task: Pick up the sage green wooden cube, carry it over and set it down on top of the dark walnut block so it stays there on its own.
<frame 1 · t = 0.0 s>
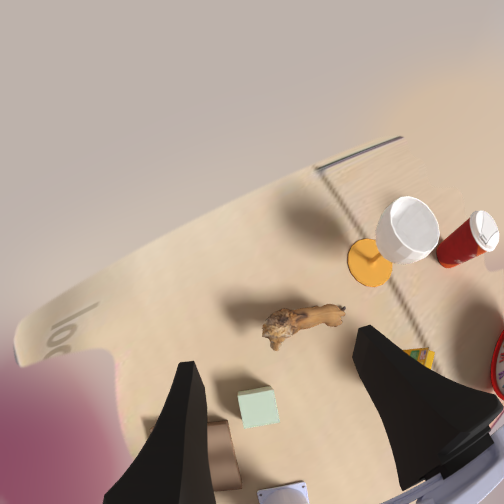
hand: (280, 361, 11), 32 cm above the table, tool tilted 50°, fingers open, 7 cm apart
tan animal figurine: (301, 325, 44), on the table
toy clock: (498, 360, 40), on the table
cup: (370, 262, 48), on the table
sage cube: (257, 403, 39), on the table
paper cup: (445, 255, 49), on the table
walnut block: (198, 455, 36), on the table
crayon box: (390, 372, 41), on the table
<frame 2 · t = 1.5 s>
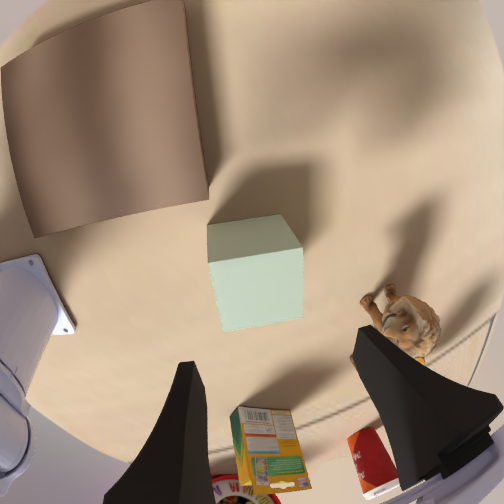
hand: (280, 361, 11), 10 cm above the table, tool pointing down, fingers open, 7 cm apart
tan animal figurine: (368, 316, 26), on the table
toy clock: (228, 477, 45), on the table
sage cube: (247, 251, 20), on the table
paper cup: (360, 433, 43), on the table
walnut block: (103, 116, 15), on the table
crayon box: (259, 412, 31), on the table
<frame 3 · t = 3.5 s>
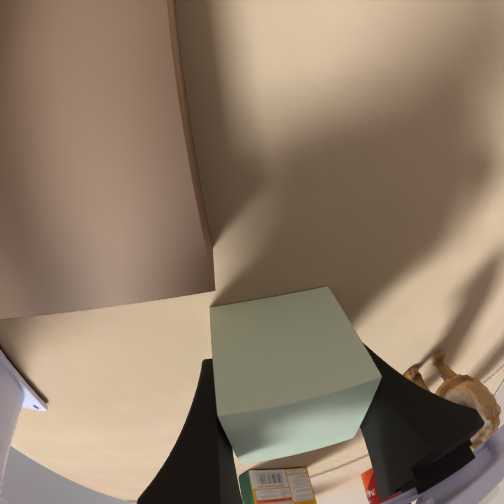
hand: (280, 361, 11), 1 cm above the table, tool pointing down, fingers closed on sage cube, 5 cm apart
tan animal figurine: (407, 383, 19), on the table
sage cube: (273, 338, 13), on the table, touching gripper
paper cup: (375, 468, 35), on the table
walnut block: (31, 128, 7), on the table
crayon box: (272, 470, 24), on the table
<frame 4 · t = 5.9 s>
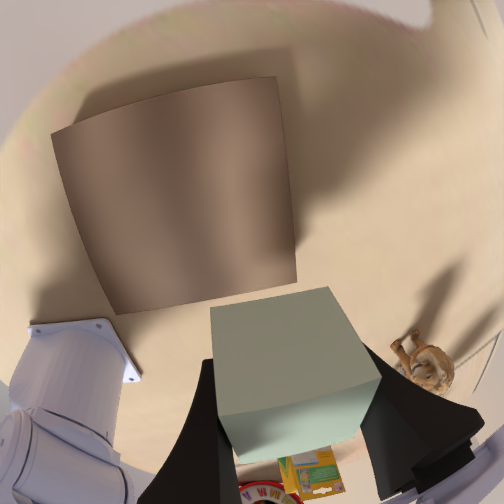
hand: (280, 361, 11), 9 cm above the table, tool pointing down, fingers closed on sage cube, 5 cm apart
tan animal figurine: (395, 354, 29), on the table
toy clock: (255, 483, 48), on the table
sage cube: (273, 338, 13), point 7 cm above the table, touching gripper
walnut block: (181, 194, 17), on the table
crayon box: (297, 428, 34), on the table
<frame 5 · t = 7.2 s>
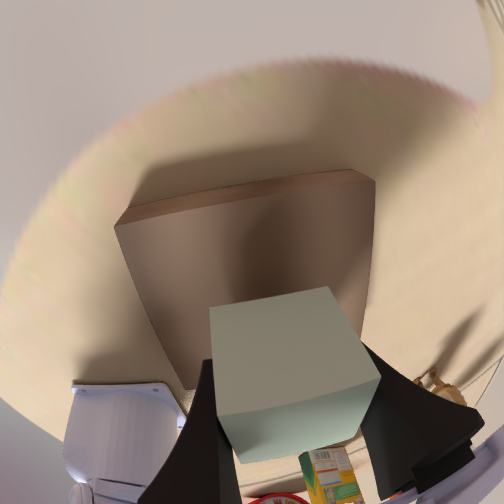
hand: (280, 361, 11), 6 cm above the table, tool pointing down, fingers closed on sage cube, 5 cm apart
tan animal figurine: (413, 387, 29), on the table
toy clock: (271, 494, 48), on the table
sage cube: (273, 338, 13), point 5 cm above the table, touching gripper
walnut block: (255, 278, 17), on the table
crayon box: (321, 450, 34), on the table
when the fingers open (6 cm above the table, at t = 8.5 s): sage cube drops 2 cm, point 2 cm above the table.
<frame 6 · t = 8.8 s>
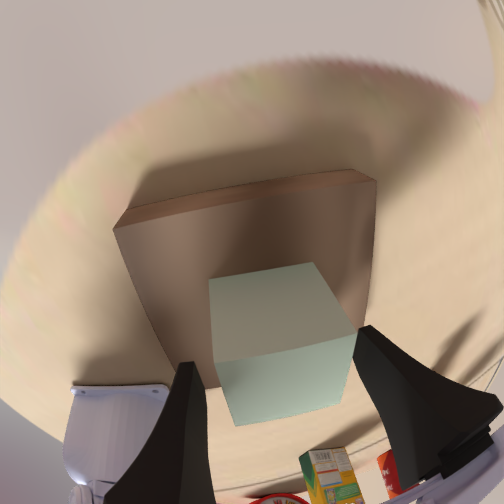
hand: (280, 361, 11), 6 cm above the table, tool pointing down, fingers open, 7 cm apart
toy clock: (271, 495, 48), on the table
sage cube: (265, 310, 14), point 2 cm above the table
paper cup: (387, 452, 45), on the table
walnut block: (256, 279, 17), on the table
crayon box: (321, 451, 34), on the table
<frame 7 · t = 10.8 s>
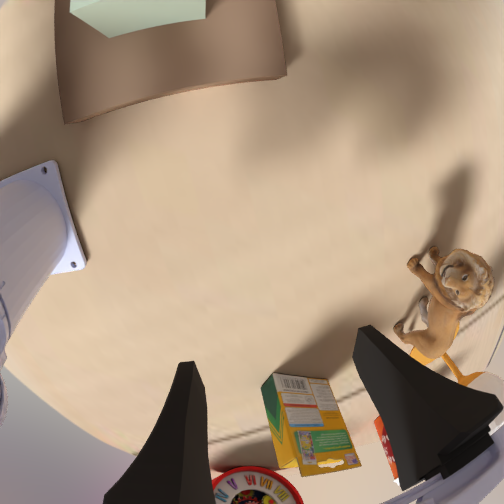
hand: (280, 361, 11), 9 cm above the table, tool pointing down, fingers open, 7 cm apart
tan animal figurine: (412, 281, 24), on the table
toy clock: (243, 469, 42), on the table
cup: (434, 342, 31), on the table
paper cup: (387, 414, 40), on the table
walnut block: (163, 11, 12), on the table, touching sage cube
crayon box: (294, 382, 28), on the table
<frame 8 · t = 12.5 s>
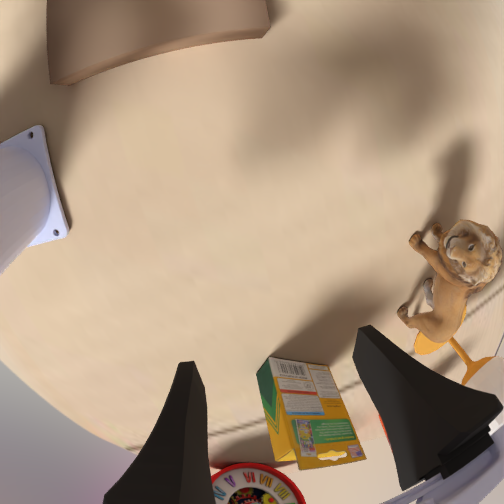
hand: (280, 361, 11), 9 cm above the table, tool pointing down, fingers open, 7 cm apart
tan animal figurine: (415, 261, 23), on the table
toy clock: (242, 466, 41), on the table
cup: (440, 327, 29), on the table
crayon box: (292, 368, 27), on the table
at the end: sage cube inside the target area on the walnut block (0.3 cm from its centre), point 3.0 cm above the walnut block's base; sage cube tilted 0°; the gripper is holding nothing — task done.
